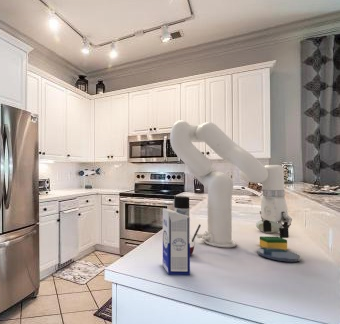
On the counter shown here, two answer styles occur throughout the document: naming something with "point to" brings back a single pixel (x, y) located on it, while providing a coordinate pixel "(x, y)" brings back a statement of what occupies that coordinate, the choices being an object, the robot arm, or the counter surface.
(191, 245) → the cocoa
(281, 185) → the robot arm
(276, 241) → the sponge
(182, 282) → the counter surface
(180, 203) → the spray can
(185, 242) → the milk carton
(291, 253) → the plate
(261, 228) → the air freshener
